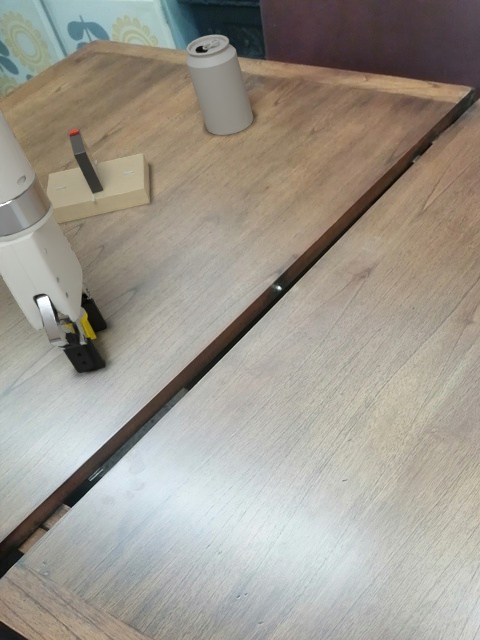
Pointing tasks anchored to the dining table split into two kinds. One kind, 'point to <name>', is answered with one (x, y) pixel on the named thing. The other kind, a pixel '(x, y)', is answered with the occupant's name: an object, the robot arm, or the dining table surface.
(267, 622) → the dining table surface
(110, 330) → the dining table surface
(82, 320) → the watch
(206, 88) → the can
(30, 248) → the robot arm
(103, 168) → the tan rectangular block
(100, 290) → the dining table surface
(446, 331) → the dining table surface
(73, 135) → the grey block
